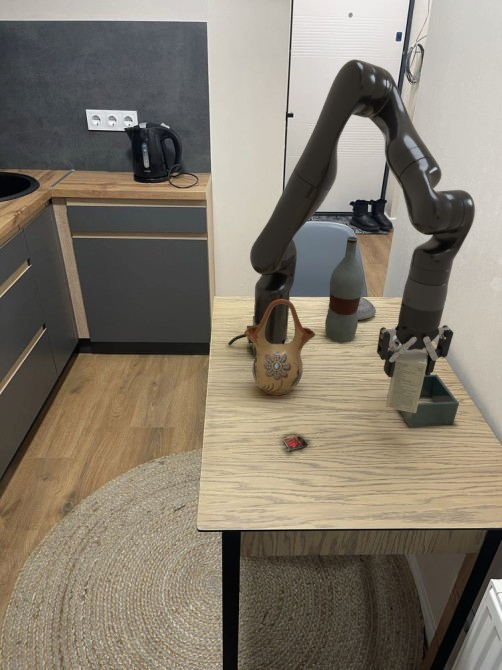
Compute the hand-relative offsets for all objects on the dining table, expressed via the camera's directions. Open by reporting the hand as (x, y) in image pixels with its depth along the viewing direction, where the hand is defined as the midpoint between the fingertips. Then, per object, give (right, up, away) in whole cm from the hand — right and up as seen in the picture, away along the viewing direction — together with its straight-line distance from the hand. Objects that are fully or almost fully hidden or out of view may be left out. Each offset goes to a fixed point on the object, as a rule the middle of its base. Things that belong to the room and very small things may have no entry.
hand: (407, 374), depth 100 cm
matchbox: (-22, -15, +6) cm, 28 cm away
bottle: (-5, +7, +47) cm, 48 cm away
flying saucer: (+1, +15, +61) cm, 63 cm away
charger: (+12, +5, +43) cm, 45 cm away
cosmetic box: (0, -7, +4) cm, 8 cm away
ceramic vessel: (-25, -6, +22) cm, 34 cm away
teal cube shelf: (+9, -10, +17) cm, 21 cm away
